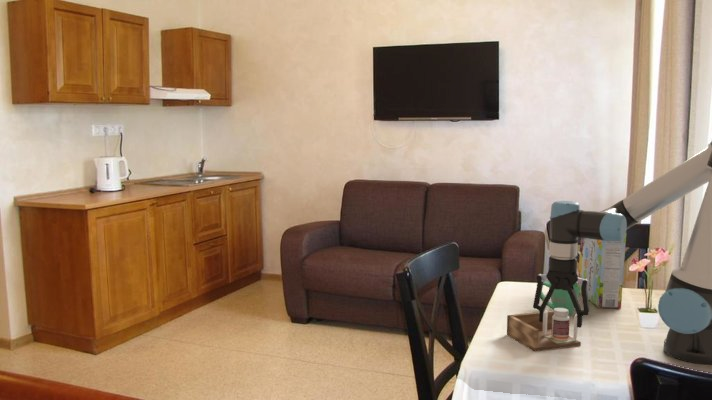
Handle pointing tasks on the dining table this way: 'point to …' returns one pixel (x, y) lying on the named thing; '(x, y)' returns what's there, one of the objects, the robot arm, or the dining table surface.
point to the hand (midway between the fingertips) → (559, 335)
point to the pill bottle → (560, 324)
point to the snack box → (603, 270)
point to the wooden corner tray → (535, 332)
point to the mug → (561, 298)
